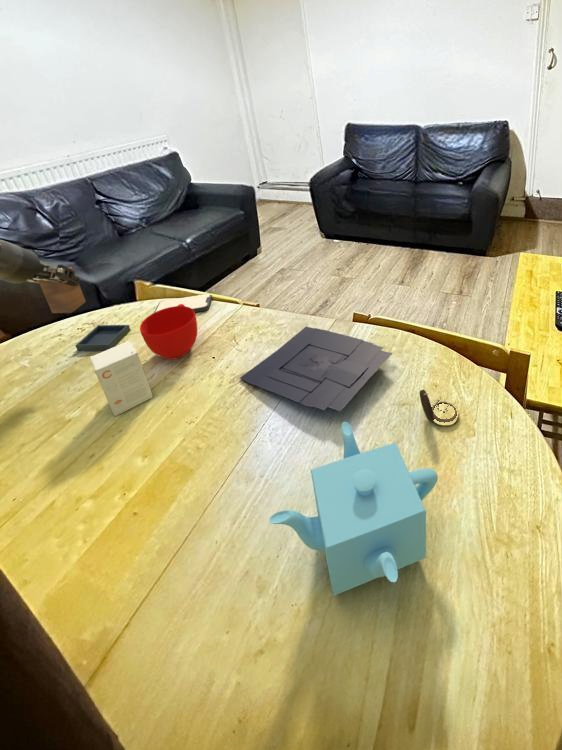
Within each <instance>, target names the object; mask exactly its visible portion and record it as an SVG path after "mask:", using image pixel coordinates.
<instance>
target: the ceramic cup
mask: <svg viewBox="0 0 562 750" xmlns="http://www.w3.org/2000/svg"><path fill="white" fill-rule="evenodd" d="M154 312H155V311H154ZM154 312H153V313H151V314H149V315H148V316H146V317H145V319H144V320H142V322H141V323H140V326H139V331H140V334H141V336H142V339H143V341H144V343H145V344H146V346H147V347H148V348H149V350H150V351H151V352H152V353H153V354H155V355H157V356H158V357H162V358H164V359H167V360H176V359H179V358H182V357H185V355H187V354H188V353H189V352H190V351H191V349H192V348H193V346H194V344H195V342H196V339H197V336H198V321H197V315H196V312H194V310H193V309H192V308H190V307H186V306H184V305H183V304H179V305H178V306H175V307H169V308H165V309H162V310H160V311H157V312H155V313H154Z"/></svg>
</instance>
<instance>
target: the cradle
mask: <svg viewBox="0 0 562 750" xmlns="http://www.w3.org/2000/svg"><path fill="white" fill-rule="evenodd" d="M130 331H131V327H130V324H97V326H95V327H94V328H93V329H92V330H90V332H89V333H88V334H86V335H85V336H84V337H83V338H82V339H81V340H79V342H77V343H76V344H75V345H74V346H75V349H76V350H77V351H76V352H103V351H106V350H108V349H111V348H113V347H115V346H118V345H119V344H118V343H120V342H121V341H122V340H123V339H124V338H125V337H126V336H127V334H128V333H130Z"/></svg>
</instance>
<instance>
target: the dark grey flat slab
mask: <svg viewBox="0 0 562 750" xmlns="http://www.w3.org/2000/svg"><path fill="white" fill-rule="evenodd" d="M383 349H384V346H381V345H376V344H374V343H373V342H371V341H366V340H364V339H361V338H358V337H355V336H354V337H353V336H350V335H346V334H342V333H337V332H334V331H331V330H326V329H321V328H318V327H317V328H316V327H311V326H305V327H304V328H302V329H301V330H300V331H299V332H298V333H296V334H295V335H294V336H293V337H291V338H289V340H288V341H286V343H284V344H283V345H282V346H280V347H279V348H278V349H277V350H276V351H274V352H272V353H271V354H270V355H268V356H266V358H264V359H263V360H261V362H259V363H258V364H257V365H255V366H253V367H252V368H251V369H250V370H248V371H246V373H244V374H243V375H241V376H240V377H239V379H240V380H243V381H244V382H246V383H248V384H250V385H253V386H256V387H258V388H260V389H261V388H262V389H264V390H266V391H269V392H272V393H274V394H276V395H279V396H281V397H284V398H287V399H289V400H292V401H293V402H296V403H299V404H300V405H303V406H306V407H309V408H311V407H314V408H317V409H320V410H322V411H325V410H327V408H330V409H333V410H336V411H339V412H342V410H343V409H344V408H345V407H346V406H347V405H348V403H350V401H351V400H352V399H353V398H354V397H355V395H357V393H358V392H359V391H360V390H361V389H362V387H363V386H364V385H365V384H367V382H368V381H369V379H370V378H371V377H372V376H373V375H374V374H375V373H376V372H377V371H378V370H380V367H381V366H383V365H384V364H385V362H386V361H387V360H388V359H389V358H390V357H391V356H392V355H393V353H392V352H389V351H385V350H383Z"/></svg>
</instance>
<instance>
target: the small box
mask: <svg viewBox="0 0 562 750" xmlns="http://www.w3.org/2000/svg"><path fill="white" fill-rule="evenodd" d="M89 360H90V363H91V365H92V368H93V369H94V370H93V371H94V373H95V375H96V376H97V380H98V381H99V384H100V387H101V389H102V391H103V395H104V397H105V398H106V400H107V403H108V405H109V408H110V410H111V412H112V414H113V416H114V417H117V416H119V415H122V414H123V413H124V412H126V411H127V412H128V410H131V409H132V408H135V407H136V406H139V405H141V404H143V403H144V402H147V401H148V400H150V399H152V398H153V397H154V395H153V392H152V390H151V387H150V384H149V381H148V378H147V375H146V372H145V370H144V367H143V364H142V361H141V358H140V356H139V353H138V352H137V350H136V348H135V347H134V345H133V344H132V342H131V341H130V340H128V341H125V342H123V343H121V344H117V345H116V346H115V347H113V348H111V349H108V350H106V351H100V352H99V353H96V354H93V355H92V356H91V355H90V356H89Z"/></svg>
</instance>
